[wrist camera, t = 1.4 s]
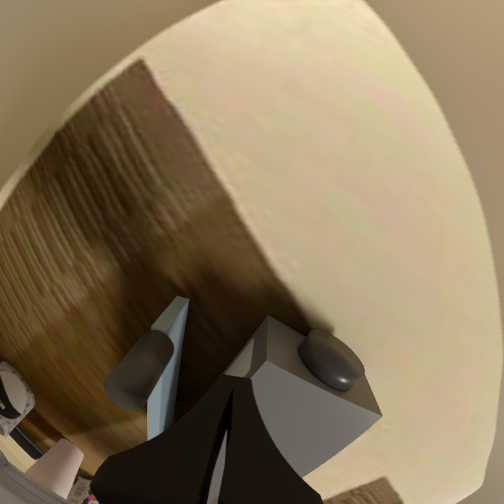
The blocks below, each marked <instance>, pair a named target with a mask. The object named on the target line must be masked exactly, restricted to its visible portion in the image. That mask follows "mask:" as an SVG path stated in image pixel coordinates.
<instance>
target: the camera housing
mask: <svg viewBox="0 0 504 504" xmlns="http://www.w3.org/2000/svg"><path fill="white" fill-rule="evenodd" d="M364 373H365V369H364V366H363V364H362V362H361V361H360V359H359V358H358V357H357V356H356V354H355V353H354V352H353V351H352V350H351V349H350V348H349V347H348V346H347V345H345V344H344V343H343V342H342V341H340V340H339V339H338V338H336V337H335V336H333V335H332V334H330V333H328V332H326V331H323V330H320V329H313V330H312V331H311V332H310V333H309V334H308V335H307V337H305V336H303V335H301V334H300V333H298V332H296V331H295V330H293V329H291V328H290V327H288V326H286V325H284V324H283V323H281V322H279V321H278V320H276V319H275V318H273V317H271V316H270V315H267V317H266V318H265V319H264V321H263V322H262V323H261V325H260V326H259V327H258V329H257V330H256V331H255V332H254V334H253V335H252V336H251V338H250V339H249V340H248V341H247V343H246V344H245V345H244V347H243V348H242V349H241V350H240V352H239V353H238V354H237V355H236V357H235V358H234V359H233V360H232V362H231V363H230V364H229V365H228V367H227V368H226V369H225V370H224V372H223V373H222V374H226V375H232V376H238V377H244V378H250V379H251V380H252V385H253V391H254V395H255V399H256V403H257V406H258V409H259V411H260V414H261V417H262V419H263V422H264V424H265V426H266V428H267V430H268V432H269V434H270V436H271V438H272V440H273V441H274V443H275V445H276V446H277V448H278V449H279V451H280V452H281V454H282V455H283V457H284V458H285V459H286V460H287V462H288V463H289V464H290V465H291V467H292V468H293V469H294V470H295V472H296V473H297V474H298V475H299V476H300V477H301V478H302V477H304V476H305V475H307V474H308V473H310V472H311V471H313V470H314V469H316V468H317V467H319V466H320V465H322V464H323V463H325V462H326V461H328V460H329V459H330V458H332V457H333V456H335V455H336V454H337V453H339V452H340V451H341V450H343V449H344V448H345V447H346V446H348V445H349V444H350V443H352V442H353V441H354V440H355V439H357V438H358V437H359V436H360V435H362V434H363V433H364V432H365V431H366V430H367V429H369V428H370V427H371V426H372V425H373V424H374V423H376V422H377V421H378V420H379V419H380V418H381V417H382V413H381V411H380V409H379V406H378V404H377V402H376V399H375V397H374V395H373V392H372V390H371V388H370V385H369V383H368V381H367V379H366V376H365V374H364ZM205 394H206V393H205ZM226 437H227V430H226V434H225V437H224V440H223V443H222V447H221V450H220V453H219V456H218V459H217V462H216V465H215V469H214V472H213V476H212V481H211V486H210V491H209V494H210V495H212V496H215V497H219V492H220V486H221V481H222V476H223V471H224V465H225V451H226Z"/></svg>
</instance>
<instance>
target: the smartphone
mask: <svg viewBox="0 0 504 504" xmlns="http://www.w3.org/2000/svg"><path fill="white" fill-rule="evenodd" d="M9 435H10V436H11V437H12V438H13V439H14V440H15V441H16V443H17V444H18V445H19V446H20V447H21V448H22V449H23V450H24V451H25V452H26V453H27V454H28V455H30V456H31V457H32V458H33V459H35V460H38V459H40V458H41V457H42V456H43V455H44V453H43V452H42V451H41V450H40V449H39V448H38V447H37V446H36V445H35V444H34V443H33V442H32V441H31V440H30V439H29V438H28V437H27V436H26V435H25V434H24V433H23V432H22V431H21V430H20V429H19V428H18V427H17V426H16V427H15V428H14V429H13V430H12V431H11V432H10V433H9Z"/></svg>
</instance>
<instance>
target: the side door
mask: <svg viewBox="0 0 504 504" xmlns="http://www.w3.org/2000/svg"><path fill="white" fill-rule="evenodd" d="M188 306H189V299H187V298H184V297H180V296H176V298H175V299H174V300H173V301H172V302H171V304H170V305H169V306H168V307H167V308H166V310H165V311H164V312H163V313H162V314H161V315H160V317H159V318H158V319H157V320H156V321H155V323H154V324H153V325H152V326H151V330H148V331H146V332H145V333H144V334H143V335H142V336H141V337H140V339H139V340H138V341H137V342H136V343H135V345H134V346H133V347H132V348H131V349H130V351H129V352H128V353H127V354H126V355H125V357H124V358H123V359H122V360H121V362H120V363H119V364H118V365H117V366H116V368H115V369H114V370H113V371H112V373H111V374H110V375H109V376H108V378H107V379H106V380H105V382H104V389H105V392H106V394H107V396H108V397H109V398H110V399H111V401H112V402H114V403H115V404H116V405H117V406H119V407H121V408H123V409H125V410H128V411H134V412H135V411H140V410H142V409H143V407H144V406H145V404H146V402H147V400H148V405H147V431H148V440H150V439H152V438H154V437H155V436H157V435H159V434H160V433H162V432H163V431H165V430H166V429H168V428H169V427H171V426H172V425H173V422H174V412H175V403H176V393H177V385H178V376H179V368H180V361H181V353H182V346H183V339H184V332H185V325H186V318H187V312H188Z"/></svg>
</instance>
